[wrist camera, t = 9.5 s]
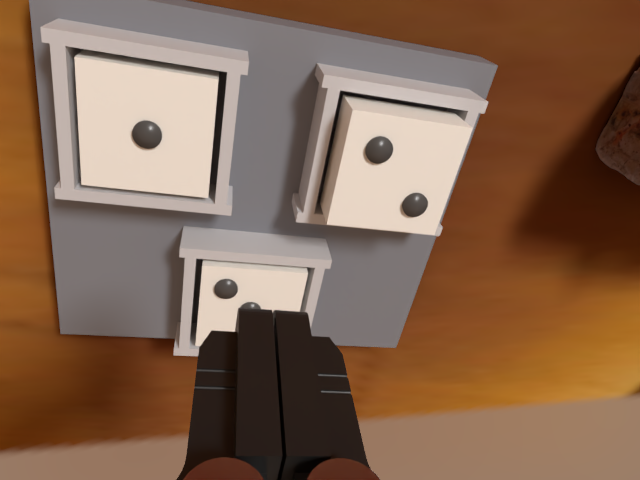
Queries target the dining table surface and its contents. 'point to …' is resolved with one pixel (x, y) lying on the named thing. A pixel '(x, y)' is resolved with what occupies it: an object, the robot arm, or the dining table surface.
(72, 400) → the dining table surface
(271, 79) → the button board
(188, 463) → the robot arm
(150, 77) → the button one
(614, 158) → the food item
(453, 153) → the button two
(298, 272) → the button three
